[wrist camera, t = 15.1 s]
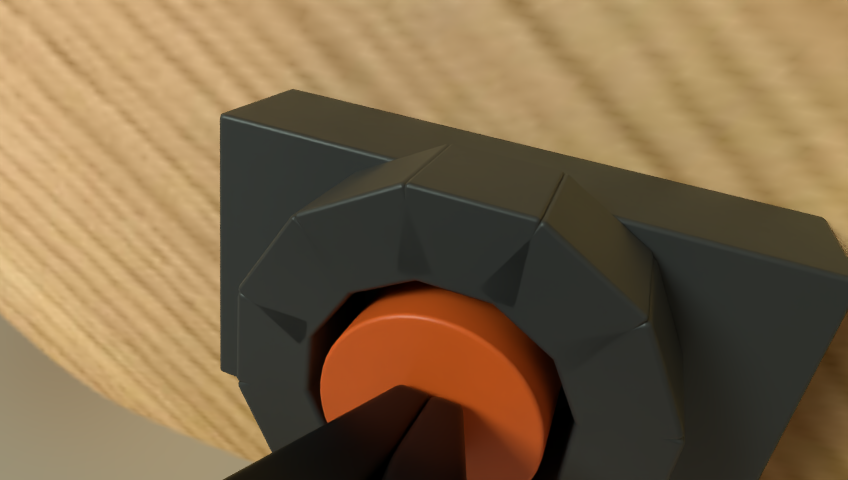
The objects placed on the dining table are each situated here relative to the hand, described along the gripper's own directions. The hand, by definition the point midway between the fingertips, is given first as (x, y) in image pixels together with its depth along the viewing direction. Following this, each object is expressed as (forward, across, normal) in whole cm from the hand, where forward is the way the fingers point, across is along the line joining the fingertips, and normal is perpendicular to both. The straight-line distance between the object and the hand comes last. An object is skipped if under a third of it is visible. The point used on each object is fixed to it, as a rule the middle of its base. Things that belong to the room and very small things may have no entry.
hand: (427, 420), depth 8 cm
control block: (+4, 0, 0) cm, 4 cm away
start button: (+2, 0, 0) cm, 2 cm away
